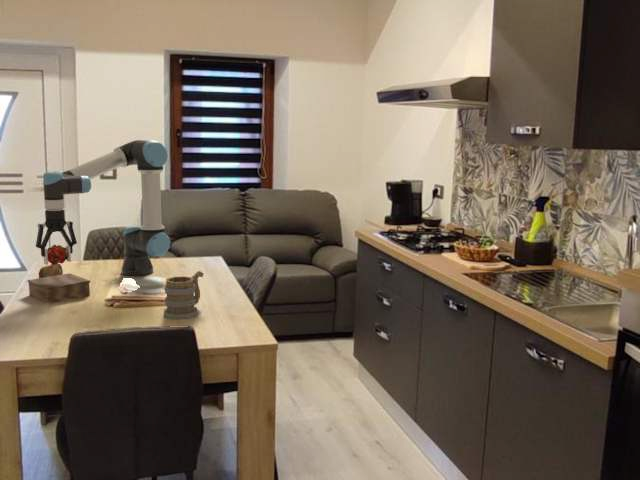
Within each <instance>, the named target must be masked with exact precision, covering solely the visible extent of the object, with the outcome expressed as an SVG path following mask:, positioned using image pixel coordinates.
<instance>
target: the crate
mask: <svg viewBox="0 0 640 480" xmlns="http://www.w3.org/2000/svg"><path fill="white" fill-rule="evenodd" d="M27 283H28V291H29V296H30V297H32V298H34V299H36V300H39V301H41V302H43V303H45V304H47V305H48V304H49V305H50V304H54V303H59V302H65V301H70V300H75V299H80V298H85V297H90V296H91V294H90V293H91V292H90V291H91V289H90V283H91V280H90V279H87V278H84V277H81V276H78V275H76V274H72V273H64V274H62V275H56V276H50V277H44V278H39V277H38V278H33V279H27Z"/></svg>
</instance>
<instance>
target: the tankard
mask: <svg viewBox="0 0 640 480" xmlns="http://www.w3.org/2000/svg"><path fill="white" fill-rule="evenodd" d="M199 277H200V278H203V277H204V272H202V271H200V270H198V271H197V272H195V273H194V274H193V275H192V276H172V277H169V278H166V282H165V283H166V284H164V289H163V290H164V294H165V295H166V297H165V300H164V302H165V303H164V304H165V307H166V308H164V309H163V317H164V318H167V319H171V320H186V319H187V320H188V319H192V318H193V317H197V316H198V315H199V314H198V307H196V306H195V305H197V304H198V303H199V302H200V301H199V300H200V298H201V289H200V286H199Z"/></svg>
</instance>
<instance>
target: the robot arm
mask: <svg viewBox="0 0 640 480" xmlns="http://www.w3.org/2000/svg"><path fill="white" fill-rule="evenodd" d="M167 161H168V151H167V148H166V146H165V145H163V143H161V142H159V141H157V140H156V141H155V140H153V139H152V140H141V139H138V140H137V139H136V140H132V141H129V142H127V143H125V144H123V145H119V146H118V147H115V148H114V149H113V151H112V152H109V153H107V154H104V155H102V156H99V157H96V158H95V159H93V160H90V161H88V162H85V163H83V164H80V165H78V166H76V167H74V168H70V169H68V170H65V171H63V172H60V171H50V172H49V171H48V172H45V173H43V178H42V179H43V181H42V185H43V196H44V199H43V200H44V209H45V211H44V213H45V214H44V215H45V217H44V218H45V222H44V223H38V224H37V228H38V231H37V237H36V242H35V243H36V244H35V247H36V248H38V249H40V255H41V257H43V264H44V265H46V266H47V265H49V262H48V254H47V249H48V248H46V247H47V245H48V243H49V240H50V238H51V235H52V234H53V233H56V232H60V234H61V235H62V237H63V238H64V240H65V242H66V243H67V245H65V248H66V249H67V250H66V252H67V255H68V259H67V260H66V261H67V262H68V263H70V262H72V256H71V255H72V254H73V252H74V249H73V246H74V245H77V243H78V242H77V238H76V234H75V231H74V228H73V225H74V222H73V221H71V220H68V221H66V216H65V215H66V214H65V210H64V208H65V196H64V195H77V194H86V193H87V194H88V193H89V192H90V191H91V189H92V182H91V181H92V179H95V178H97V177H99V176H102V175H104V174H106V173H110V172H111V171H114V170H116V169H118V168H126V167H129V166H137V171H138V172H139V173H140V179H141V180H140V181H141V183H140V184H141V208H142V224H141V225H133V226H127V227H125V228H124V230H123V235H122V236H123V247H124V248H123V250H124V251H123V253H124V258H123V262H122V265H121V274H122V275H125V276H135V277H136V276H146V275H150V274H153V273H154V266H153V264H152V261H151V258H150V257H162V256H163V255H165V254H166V253H167V252H168V251H169V249H170V246H171V238H170V236H169V234H167V233H166V227H165V226H164V224H163V222H162V221H163V220H162V197H161V196H162V195H161V173H162V172H163V171H164V165H165V164H166V163H167ZM65 226H66V227H67V230H68V233H69V236H70V237H69V236H68V234H67V232H66V230H65ZM45 227H46V228H47V230H46V231H45V232H46V233H45V235H44V229H45ZM43 235H44V237H43Z"/></svg>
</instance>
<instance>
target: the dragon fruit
mask: <svg viewBox="0 0 640 480" xmlns="http://www.w3.org/2000/svg"><path fill="white" fill-rule="evenodd" d="M46 249H47V254H48V263H50V264H52V265H56V264H57V263H59V264H64V263H65V262H66V261H67V259H68V255H67V252H66V250H67V249H66V246H62V245H60V244H57V245H56V244H53V245H52V246H51V247H48V248H46Z"/></svg>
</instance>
